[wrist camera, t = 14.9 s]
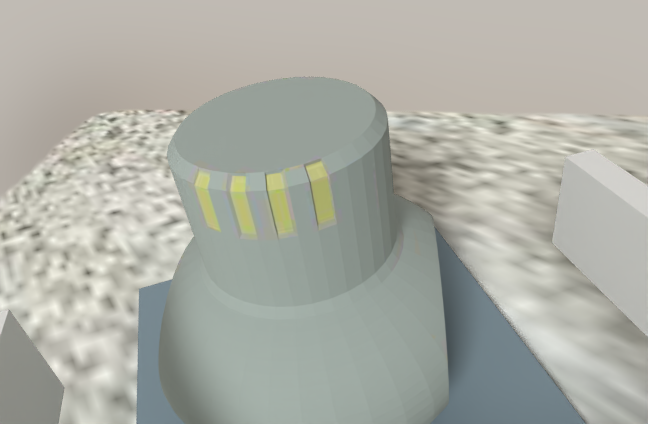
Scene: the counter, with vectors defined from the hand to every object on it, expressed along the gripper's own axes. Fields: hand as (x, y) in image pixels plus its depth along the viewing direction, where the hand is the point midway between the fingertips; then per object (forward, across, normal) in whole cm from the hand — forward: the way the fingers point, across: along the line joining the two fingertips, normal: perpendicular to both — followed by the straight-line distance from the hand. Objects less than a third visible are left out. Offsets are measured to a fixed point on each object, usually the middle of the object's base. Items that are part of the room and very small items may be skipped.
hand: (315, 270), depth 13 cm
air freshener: (+3, 0, -8) cm, 8 cm away
